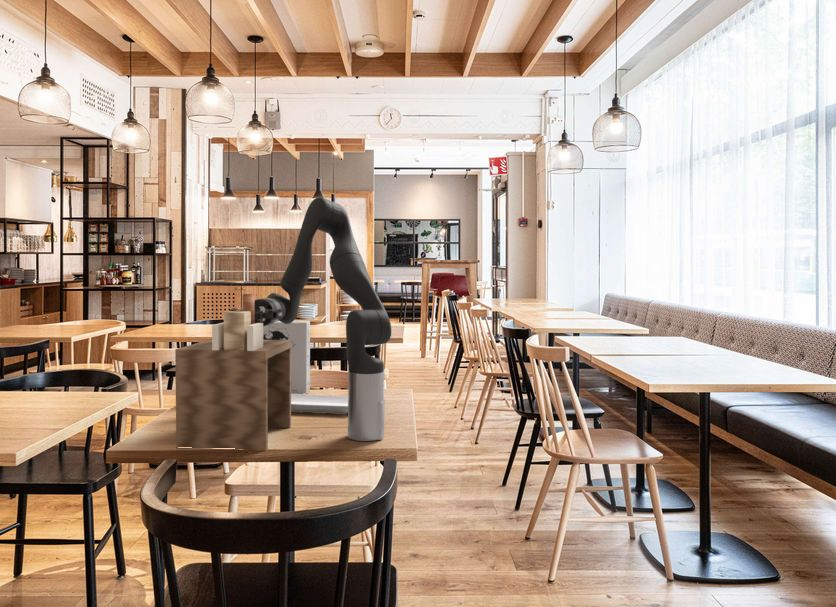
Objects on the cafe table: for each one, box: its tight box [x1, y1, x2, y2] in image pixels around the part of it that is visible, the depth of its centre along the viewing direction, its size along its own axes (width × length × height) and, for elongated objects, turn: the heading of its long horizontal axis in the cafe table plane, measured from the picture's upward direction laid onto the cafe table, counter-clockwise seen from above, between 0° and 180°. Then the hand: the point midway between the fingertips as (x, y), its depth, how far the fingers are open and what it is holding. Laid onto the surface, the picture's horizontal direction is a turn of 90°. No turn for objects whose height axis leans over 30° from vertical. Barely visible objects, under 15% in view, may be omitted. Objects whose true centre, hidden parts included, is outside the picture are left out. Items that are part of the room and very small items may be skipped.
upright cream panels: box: [211, 321, 263, 351], centre depth 159 cm, size 10×8×6 cm
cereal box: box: [263, 320, 311, 394], centre depth 229 cm, size 22×8×25 cm, turn 91°
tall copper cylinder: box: [223, 293, 256, 350], centre depth 162 cm, size 5×12×13 cm, turn 177°
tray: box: [291, 393, 348, 415], centre depth 203 cm, size 17×32×4 cm, turn 82°
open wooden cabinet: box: [174, 338, 292, 452], centre depth 168 cm, size 22×24×24 cm
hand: (245, 316), depth 164 cm, fingers open, 5 cm apart
